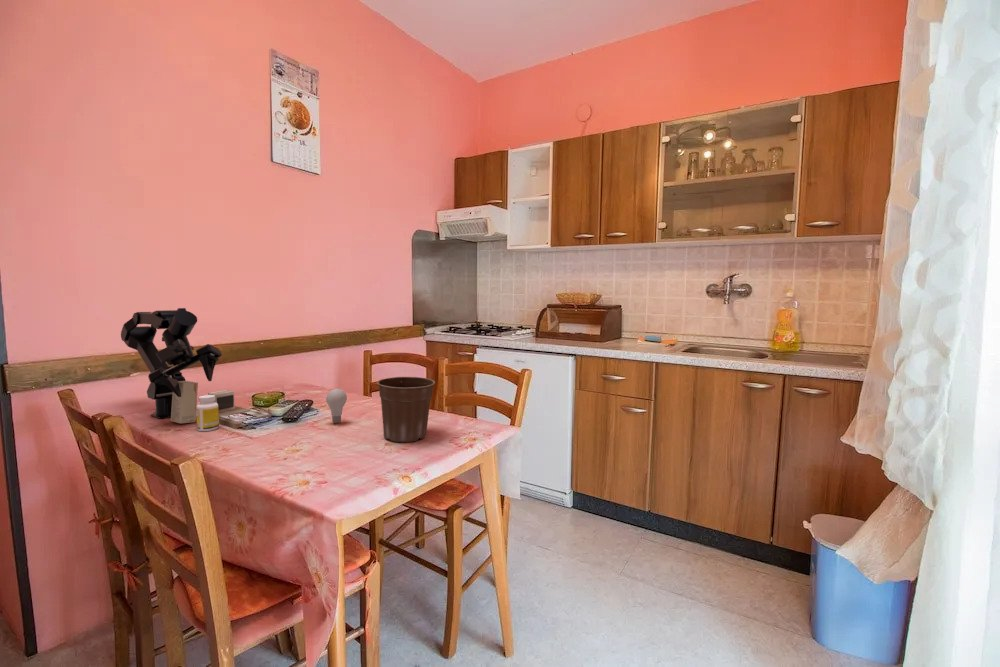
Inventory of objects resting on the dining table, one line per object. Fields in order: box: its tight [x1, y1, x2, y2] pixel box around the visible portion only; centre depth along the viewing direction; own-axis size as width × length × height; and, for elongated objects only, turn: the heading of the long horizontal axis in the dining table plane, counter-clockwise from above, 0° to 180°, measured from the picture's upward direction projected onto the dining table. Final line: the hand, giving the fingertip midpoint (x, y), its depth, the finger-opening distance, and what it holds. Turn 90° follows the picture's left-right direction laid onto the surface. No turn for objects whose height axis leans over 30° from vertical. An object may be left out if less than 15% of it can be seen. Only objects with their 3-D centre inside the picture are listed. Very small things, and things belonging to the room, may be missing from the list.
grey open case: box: [207, 389, 272, 429], centre depth 142 cm, size 23×11×8 cm, turn 60°
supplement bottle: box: [196, 394, 220, 432], centre depth 131 cm, size 5×5×10 cm
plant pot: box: [376, 376, 436, 443], centre depth 129 cm, size 16×16×16 cm
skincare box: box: [170, 380, 199, 424], centre depth 136 cm, size 6×4×12 cm
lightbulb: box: [325, 388, 348, 424], centre depth 139 cm, size 6×6×11 cm
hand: (194, 388), depth 131 cm, fingers open, 9 cm apart
